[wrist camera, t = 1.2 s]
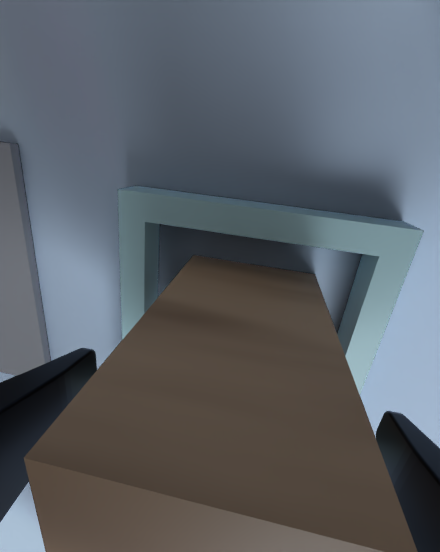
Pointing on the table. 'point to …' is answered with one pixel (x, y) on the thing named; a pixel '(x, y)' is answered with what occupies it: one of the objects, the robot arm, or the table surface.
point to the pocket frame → (276, 227)
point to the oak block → (219, 430)
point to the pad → (18, 275)
